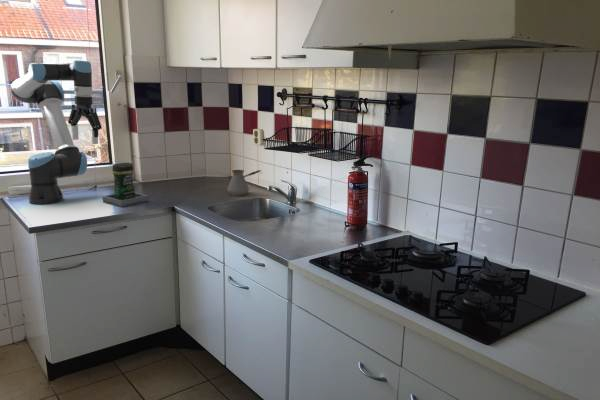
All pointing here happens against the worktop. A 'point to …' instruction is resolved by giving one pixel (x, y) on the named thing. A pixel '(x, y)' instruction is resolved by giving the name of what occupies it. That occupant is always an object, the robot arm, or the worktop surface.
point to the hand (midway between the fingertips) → (85, 141)
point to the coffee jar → (123, 181)
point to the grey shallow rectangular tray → (122, 203)
